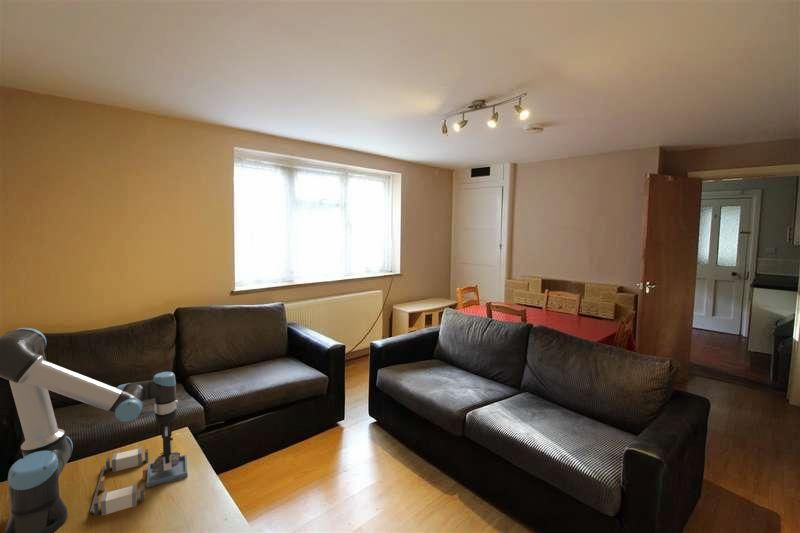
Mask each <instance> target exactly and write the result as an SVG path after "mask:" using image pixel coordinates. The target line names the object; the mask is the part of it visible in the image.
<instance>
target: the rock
mask: <svg viewBox="0 0 800 533" xmlns="http://www.w3.org/2000/svg"><path fill="white" fill-rule="evenodd" d="M161 455H163V454H161ZM161 455H159V456H158V457H156V458H155V460H154V462H153V463H154V464H153V470H152V473H155V472H156V473H157V472H158V473H161V472H164V464H163V457H161ZM180 456H181V453H180V452H178V451H175V452H173V451H172V453H171V462H172V467H174V466H176V465H178V464H179V457H180Z"/></svg>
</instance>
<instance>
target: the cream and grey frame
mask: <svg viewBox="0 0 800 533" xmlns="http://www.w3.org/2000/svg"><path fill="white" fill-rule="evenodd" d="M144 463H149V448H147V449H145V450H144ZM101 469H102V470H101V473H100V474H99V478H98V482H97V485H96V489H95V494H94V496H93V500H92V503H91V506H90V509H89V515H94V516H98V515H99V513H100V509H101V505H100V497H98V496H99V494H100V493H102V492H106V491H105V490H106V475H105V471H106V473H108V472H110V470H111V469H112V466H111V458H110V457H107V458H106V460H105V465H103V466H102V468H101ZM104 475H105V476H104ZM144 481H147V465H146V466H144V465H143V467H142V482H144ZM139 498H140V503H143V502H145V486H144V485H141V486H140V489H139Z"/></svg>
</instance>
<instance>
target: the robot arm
mask: <svg viewBox="0 0 800 533" xmlns="http://www.w3.org/2000/svg"><path fill="white" fill-rule="evenodd" d="M46 347H47V338H46V336H45V335H44V333H43V332H41V331H39V330H38V329H35V328H30V327H19V328H16V329H13V330H9V331H7V332H5V333H4V334H2V335H1V336H0V378H2V379H5V380H7V381H9V385H10V389H11V393H12V396H13V399H14V404H15V407H16V411H17V414H18V418H19V421H20V425H21V429H22V433H23V436H24V440H25V441H23V443H22V444H20V450H21V454H22V456H23V458H19V459H18V460H17V461H15V462H14V463H13V464H12V465H11V467H10V468H9V470H8V474H7V475H8V476H7V485H8V492H9V505H10V516H9V518H8V521H7V523H6V527H5V530H4V533H51V532H52V533H54V532H55V531H57V530H59V529H60V527H61V526H63V524H64V523H66V521H67V520H68V517H69V516H68V507H67V506H66V503H64V501H63V499H62V498H61V496H60V482H59V480H60V476H61V474H62V472H63V470H64V468H65V467H66V465H67V463H68V461H69V460H70V458H71V456H72V453H73V448H74V447H73V445H74V444H73V441H72V440H71V438H70V437H69V436H68V435H66V432H65V429H62V428H58V423H57V419H56V416H55V412H54V408H53V404H52V401H51V396H50V394H49V393H50V392H53V393H56V394H59V395H62V396H64V397H67V398H70V399H73V400H75V401H79V402H81V403H85V404H86V405H89V406H92V407H95V408H99V409H102V410H105V411H107V412H109V413H113V414H114V415H115V418H116V420H118V421H120V422H123V423H128V422H132V421H134V420H136V419H137V418H138V417H139V416H140V414H141V412H142V410H143V407H144V403H145V401H146V402H147V401H152V400H154V402H153V404H154V421H155V423H156V424H158V425H160V432H161V438H162V450H163V451H162V453H163V455H162V454H160V456H161V457H163V464H164V471H166V470H170V469H172V462H171V453H173V451H172V441H174V437H172V434H173V432H172V430H173V422H174V421H175V420H176V419H177V418H178V413H177V412H178V411H177V410H178V409H177V404H178V403H179V401H178V400H177V381H176V375H175V373H174V372H172V371H162V372H158V373H156V374H155V375H153V378H152V379H151V380H144V381H136V382H128V383H124V384H120V385H118V386H117V387H115V386H112V385H110V384H108V383H105V382H102V381H99V380H96V379H93V378H91V377H89V376H86V375H84V374H81V373H79V372H76V371H73V370H70V369H68V368H65V367H63V366H60V365H57V364H55V363H53V362H50V361H48V360H47V358H46V353H45V349H46ZM49 391H50V392H49ZM53 531H54V532H53Z"/></svg>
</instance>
